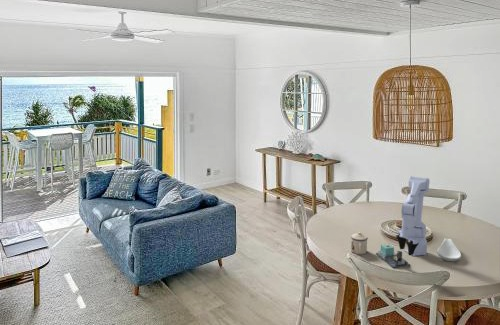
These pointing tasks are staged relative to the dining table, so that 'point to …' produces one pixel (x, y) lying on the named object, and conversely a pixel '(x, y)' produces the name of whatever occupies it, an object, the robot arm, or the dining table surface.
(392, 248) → the block
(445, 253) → the spoon rest
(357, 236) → the teacup with lid
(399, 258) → the ram lever
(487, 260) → the dining table surface
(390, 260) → the press base
